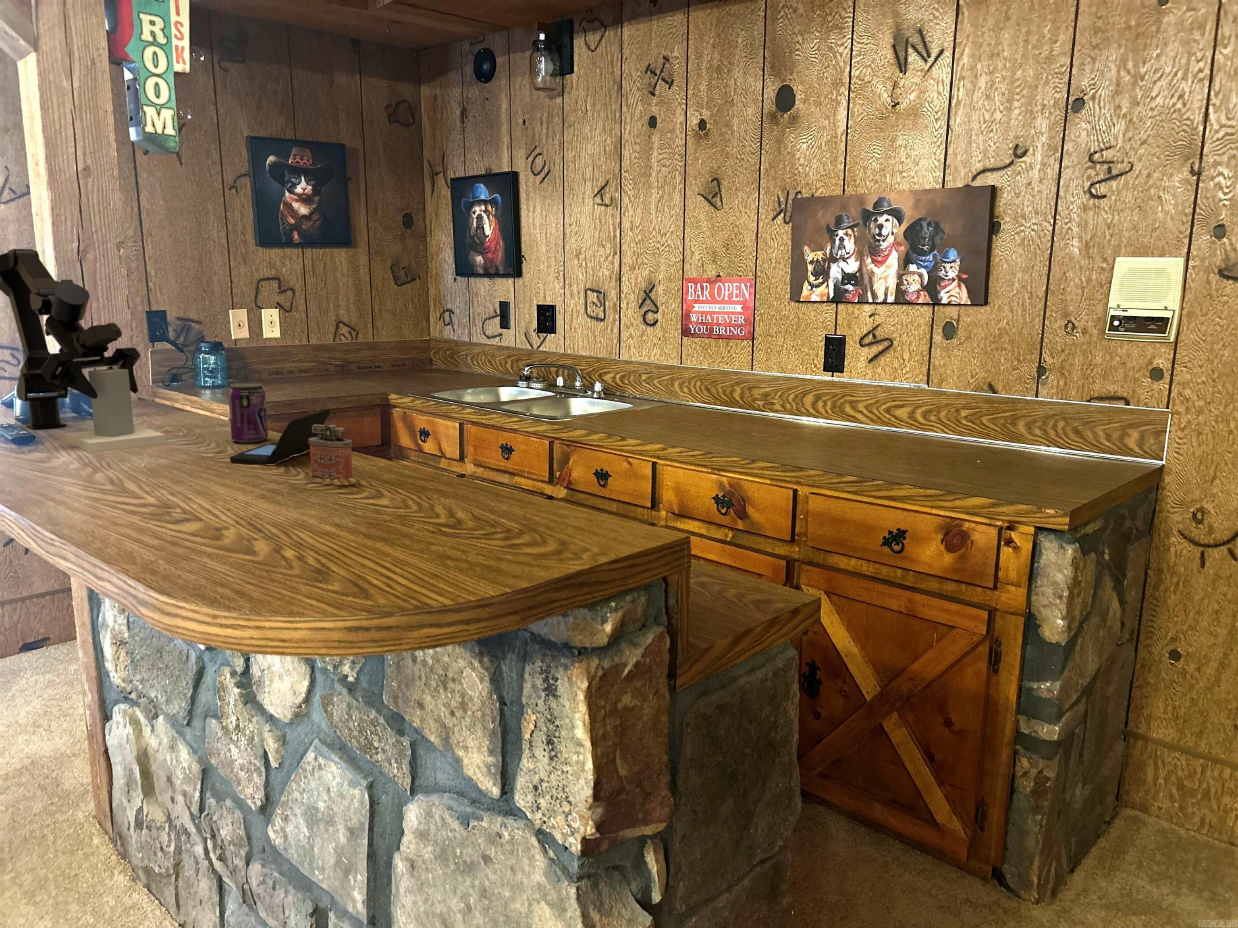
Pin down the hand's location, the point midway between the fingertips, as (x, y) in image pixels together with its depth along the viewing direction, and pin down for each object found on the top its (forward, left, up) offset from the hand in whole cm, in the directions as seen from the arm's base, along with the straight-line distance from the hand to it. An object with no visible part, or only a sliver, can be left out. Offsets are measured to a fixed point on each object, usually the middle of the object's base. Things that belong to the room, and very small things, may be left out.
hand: (116, 394), depth 180 cm
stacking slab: (-1, -1, -11) cm, 11 cm away
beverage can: (+14, +20, -10) cm, 27 cm away
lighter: (+59, +14, -10) cm, 61 cm away
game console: (+33, +18, -11) cm, 39 cm away
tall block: (-1, -1, -8) cm, 8 cm away
